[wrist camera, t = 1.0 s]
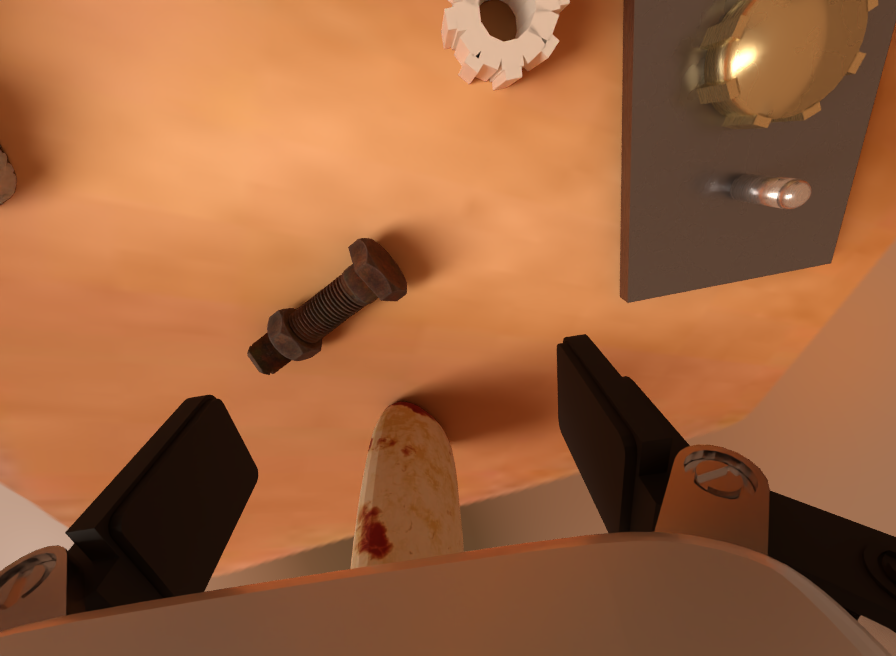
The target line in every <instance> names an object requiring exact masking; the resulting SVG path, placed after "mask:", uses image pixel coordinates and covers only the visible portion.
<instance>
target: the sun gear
mask: <svg viewBox="0 0 896 656" xmlns="http://www.w3.org/2000/svg"><path fill="white" fill-rule="evenodd" d="M876 6H878V0H739V1H738V2H737V3H736V4H735V5H733V7H732V8H731V9H730V10H729V11H728V12H727V14H726V15H725V16H724V18H723V19H722V21H721V22H720V23H719V24H717V25H714V26H712V27H709V28H708V29H707V31H706V34H705V36H704V39H703V41H702V44H701V46H700V48H703V49H706V50H707V54H706V58H705V65H704V85H702V86H701V87H699V88H698V89H696V90H697V93H698V97H699V100H700V103H701V104H707V103H711V104H712V106H713V107H714V108H715V109H716V110H717V111H718V112H719V113H720V114H721V115H723V116H725V117H726V118H725V120H724V123H723V125H722V126H724V127H727V128H731V129H758V128H768V126H769V124H770V122H786V121H803V120H806V119H807V118H809V117H811V116H812V115H814V114H816V113H817V112H819V111H821V106H820V101H821V100H822V99H823V98H825V97H826V96H827V95H828V94H829V93H830V92H831V91H832V90H833V89H834V88H835V87H836V86H837V85H838V83H839V82H840V81H841V80H842V79H843V77H844V76H846V75H852V74H855V73H856V71H857V70H858V68H859V66H860V64H861V62H862V61H863V59H864V57H865V55H866V54H865V53H862V52H859V49H860V47H861V44H862V42H863V38H864V35H865V31H866V26H867V20H868V11H870V10H872V9H873V8H875V7H876Z"/></svg>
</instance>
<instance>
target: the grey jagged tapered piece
mask: <svg viewBox="0 0 896 656" xmlns="http://www.w3.org/2000/svg"><path fill="white" fill-rule="evenodd" d="M0 147H1V146H0ZM13 172H14V169H13V167H12V165H11V164H10V163H8V162H7V156H6V153H2V152H1V150H0V204H3V203H2V202H4V201H6V200H7V199H10V197H11V196H12V195H13V194H14V192H15V191H14V190H15V189H16V177H15V176H16V175H15V174H14V173H13Z"/></svg>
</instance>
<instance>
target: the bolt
mask: <svg viewBox="0 0 896 656" xmlns="http://www.w3.org/2000/svg"><path fill="white" fill-rule="evenodd" d="M348 248H349V251H350V255H351V259H352V262H353V264H352V265H351V266H349V267H348V268H347V269H346V270H345V271H344V272H343V273H342V275H340V276H339V277H338V278H336V279H335V280H334V281H333V282H331V283H330V284H329V285H328V286H326V287H325V288H324V289H322V290H321V291H320V292H318V293H317V294H316V295H315V296H313V297H312V298H311V299H310V300H308V301H307V302H306V303H305V304H303V305H302V306H301V307H299V309H294V308H288V309H282V310H278V311H277V312H276V313H274V314H273V315H272V316H271V317H269V321H268V327H267V331H268V333H266V334H265V335H264V336H263V337H261V338H260V339H259V340H257V341H256V342H255V343H253V344H252V346H250V347H249V350H248V353H247V354H248V357H249V358H250V360H251V361H252V362H253V364H254V365H255V367H256V368H257V369H258V371H259V372H261V373H263V374H268V375H270V373H272V374H274V373H275V372H277V371H278V370H279V369H281V368H282V367H283V366H285V365H286V364H287V363H289V362H290V361H291V360H294V361H301V360H305V359H308V358H311V357H313V356H314V355H315V354H317V353H318V352H320V351H321V346H322V338H323V337H324V336H326V335H327V334H328V333H329V332H331V331H332V330H333V329H335V328H336V327H337V326H338V325H340V324H341V323H343V322H344V321H345V320H346V319H347V318H349V317H350V316H352V315H354V314H355V313H356V312H358V311H359V310H360V309H362V308H363V307H364V306H366V305H367V304H370V303H372V302H373V301H374V300H376V299H377V298H379V299H380V300H382V301H398V300H399V299H400V298H402V297H403V296H404V295H406V294H407V282H406V279H405V277H404V275H403V274H402V272H401V270H400V268H399V267H398V265H397V264H396V262H395V261H394V260H393V259H392V257H391V256H390V255H389V254H388V252H387V251H386V250H385V249H384V248H382V247H381V246H380V245H379V244H378V243H377V242H375V241H374V240H372V239H369V238H361V239H358V240H357V241H355V242H354V243H353V244H352V245H350V246H349V247H348Z"/></svg>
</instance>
